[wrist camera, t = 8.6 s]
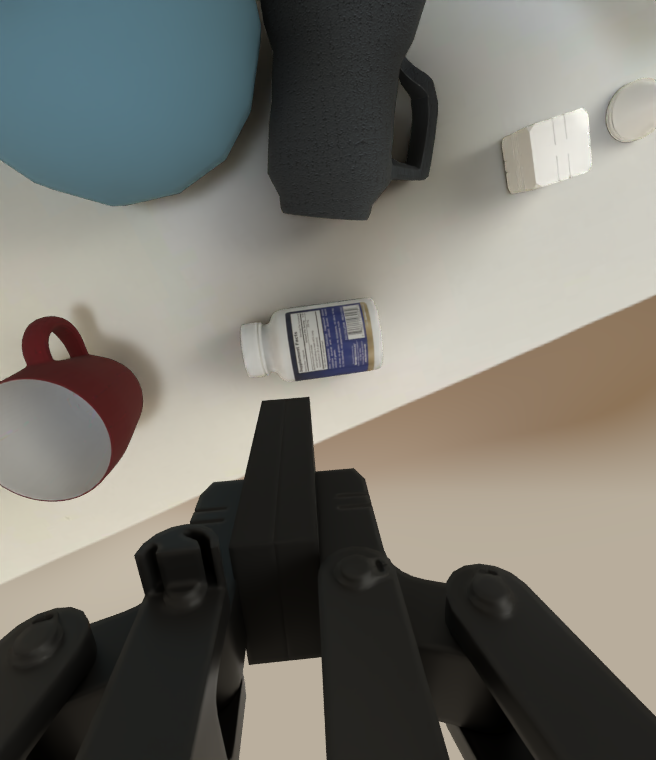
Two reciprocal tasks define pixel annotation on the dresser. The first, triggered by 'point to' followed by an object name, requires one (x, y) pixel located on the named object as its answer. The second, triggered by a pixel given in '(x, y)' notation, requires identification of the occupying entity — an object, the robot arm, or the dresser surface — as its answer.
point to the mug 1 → (64, 416)
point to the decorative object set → (575, 138)
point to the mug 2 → (343, 103)
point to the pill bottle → (315, 341)
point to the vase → (124, 92)
